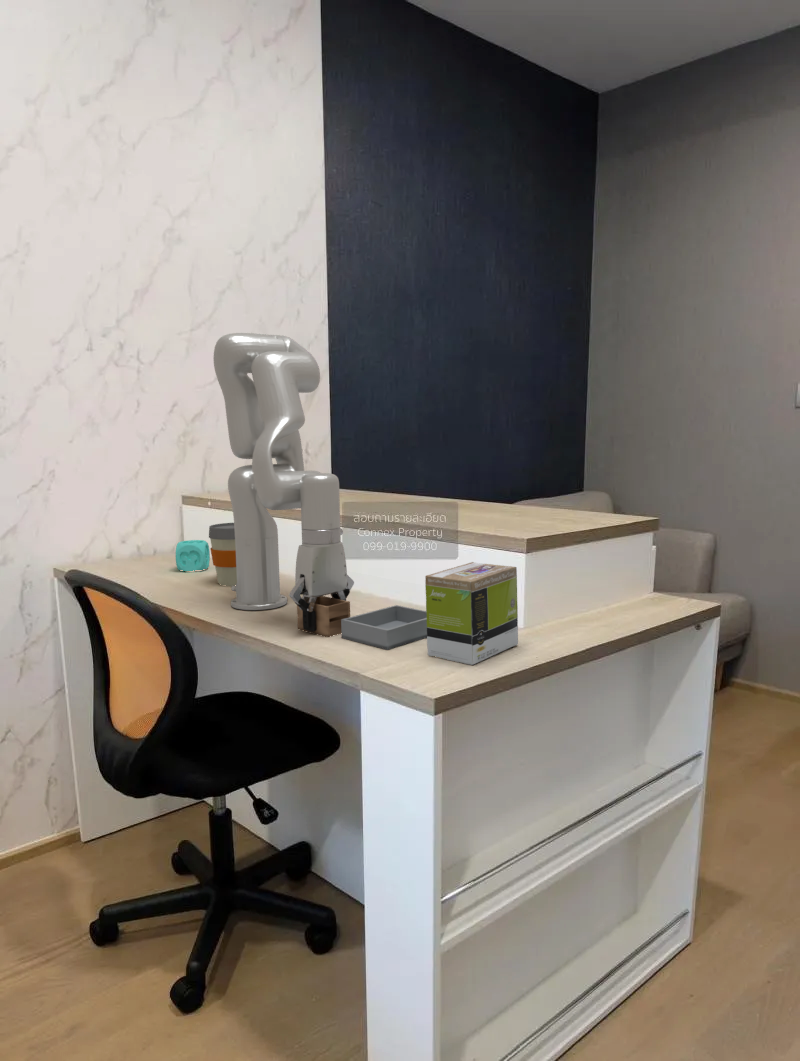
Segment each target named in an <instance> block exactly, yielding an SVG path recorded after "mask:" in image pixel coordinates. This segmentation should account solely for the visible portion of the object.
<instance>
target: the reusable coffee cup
mask: <svg viewBox="0 0 800 1061" xmlns="http://www.w3.org/2000/svg"><path fill="white" fill-rule="evenodd" d="M208 528H209V529H208V539H210V545H211V547H209V550H210V555H211V560H212V565H213V566H214V567H215V571H216V572H215V573H216V578H217V584H218V583H219V584H221V585H220V586H222V585H226V586H225V587H232V586H233V585H236V583H237V570H236V548H235V529H234V522H225V523H223V522H222V523H216V524H211V525H209V527H208ZM219 584H218V585H219Z"/></svg>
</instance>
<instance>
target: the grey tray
mask: <svg viewBox="0 0 800 1061" xmlns="http://www.w3.org/2000/svg"><path fill="white" fill-rule="evenodd" d="M341 631H342V634H341V639H344V640H349V641H352V642H357V643H360V644H362V645H367V646H369V647H370V646H371V647H375V648H379V649H382V650H386V651H388V650H392V649H395V648H398V647H401V646H404V645H408V644H410V643H414V642H417V641H421V640H423V639H427V613H426V610H424V609H423V610H422V609H417V608H414V607H407V606H404V605H397V604H395V605H391V606H388V607H384V608H380V609H375V610H371V611H369V612H365V613H364V612H363V613H361V614H357V615H353V616H350V617H349V618H345V619H341Z"/></svg>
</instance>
